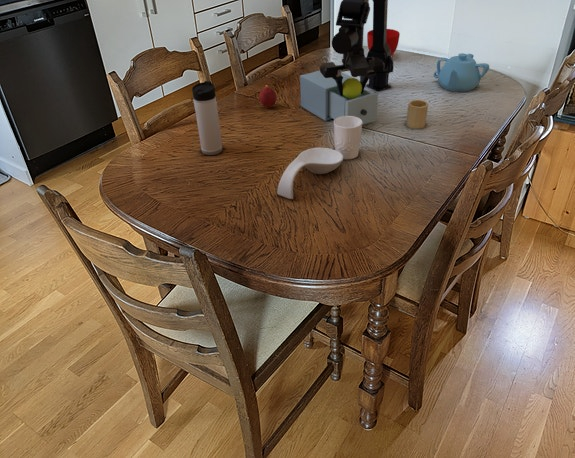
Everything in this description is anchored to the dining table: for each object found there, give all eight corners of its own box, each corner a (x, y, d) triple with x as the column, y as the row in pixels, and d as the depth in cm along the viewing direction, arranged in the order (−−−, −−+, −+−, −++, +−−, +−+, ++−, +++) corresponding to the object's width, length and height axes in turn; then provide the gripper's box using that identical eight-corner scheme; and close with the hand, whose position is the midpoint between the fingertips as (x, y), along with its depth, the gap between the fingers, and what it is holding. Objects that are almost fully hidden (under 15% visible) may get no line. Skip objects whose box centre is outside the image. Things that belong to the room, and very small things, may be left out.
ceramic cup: (364, 66, 200) (366, 40, 194) (366, 52, 214) (367, 28, 208) (397, 66, 198) (400, 41, 192) (397, 53, 212) (399, 28, 206)
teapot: (492, 88, 177) (498, 57, 170) (449, 96, 173) (454, 64, 167) (467, 74, 189) (472, 44, 182) (426, 81, 185) (430, 51, 178)
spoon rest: (314, 154, 144) (314, 131, 140) (350, 164, 138) (351, 141, 134) (266, 192, 129) (264, 168, 124) (305, 205, 123) (304, 180, 119)
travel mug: (226, 146, 150) (218, 81, 138) (217, 156, 145) (208, 90, 133) (208, 143, 152) (198, 79, 140) (198, 154, 147) (187, 88, 135)
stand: (416, 119, 160) (418, 98, 156) (429, 125, 156) (432, 104, 152) (402, 123, 158) (404, 102, 153) (415, 130, 153) (418, 109, 149)
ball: (352, 80, 158) (357, 70, 152) (362, 97, 157) (368, 88, 151) (335, 88, 157) (340, 79, 151) (345, 105, 156) (350, 97, 150)
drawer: (378, 121, 157) (380, 94, 152) (349, 131, 153) (350, 103, 147) (350, 106, 168) (351, 80, 162) (321, 114, 163) (321, 88, 158)
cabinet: (356, 111, 166) (358, 79, 160) (325, 121, 161) (325, 88, 155) (331, 97, 177) (331, 67, 170) (300, 106, 172) (300, 75, 165)
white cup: (364, 150, 145) (366, 118, 139) (355, 162, 139) (357, 129, 133) (338, 145, 148) (339, 114, 141) (329, 157, 142) (329, 125, 136)
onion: (277, 104, 174) (276, 82, 169) (276, 111, 169) (274, 88, 164) (261, 104, 174) (259, 82, 169) (259, 111, 170) (257, 88, 165)
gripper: (330, 55, 138) (329, 108, 148) (393, 48, 141) (389, 100, 150) (319, 43, 147) (319, 94, 156) (379, 37, 150) (376, 87, 159)
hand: (351, 94), depth 155 cm, fingers closed on ball, 6 cm apart
